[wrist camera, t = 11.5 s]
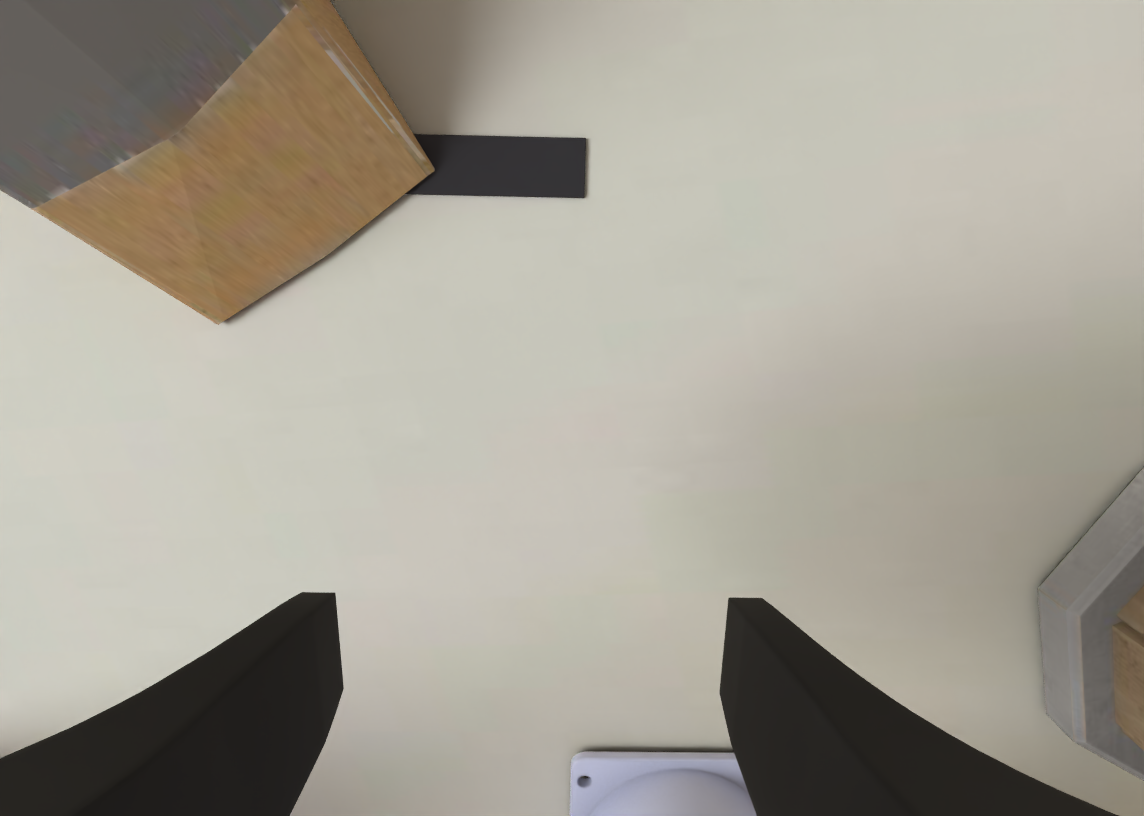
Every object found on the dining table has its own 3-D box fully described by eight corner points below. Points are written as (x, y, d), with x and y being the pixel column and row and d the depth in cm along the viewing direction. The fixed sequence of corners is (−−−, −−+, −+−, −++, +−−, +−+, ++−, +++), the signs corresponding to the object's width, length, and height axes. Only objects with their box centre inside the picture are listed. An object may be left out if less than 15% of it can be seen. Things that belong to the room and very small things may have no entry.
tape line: (584, 197, 19) (584, 197, 19) (-259, 180, 18) (-264, 179, 18) (585, 138, 18) (585, 138, 18) (-278, 118, 18) (-282, 118, 18)
